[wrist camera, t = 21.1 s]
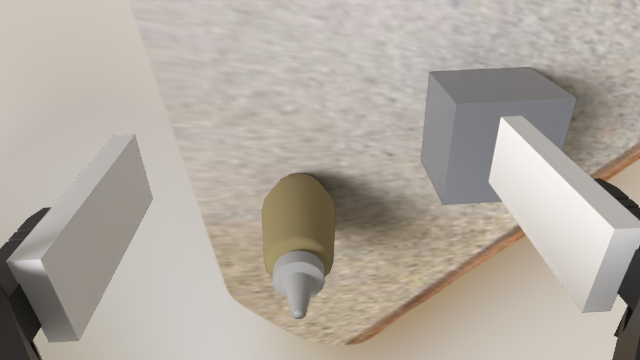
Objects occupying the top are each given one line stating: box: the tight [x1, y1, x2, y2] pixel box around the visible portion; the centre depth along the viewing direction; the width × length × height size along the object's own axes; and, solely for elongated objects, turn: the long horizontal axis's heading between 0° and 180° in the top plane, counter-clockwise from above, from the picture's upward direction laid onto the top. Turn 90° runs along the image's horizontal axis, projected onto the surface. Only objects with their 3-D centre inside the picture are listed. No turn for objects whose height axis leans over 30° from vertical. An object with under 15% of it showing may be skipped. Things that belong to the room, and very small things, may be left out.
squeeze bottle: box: [262, 173, 336, 319], centre depth 43 cm, size 8×8×18 cm
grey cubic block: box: [421, 67, 577, 205], centre depth 43 cm, size 10×10×9 cm
